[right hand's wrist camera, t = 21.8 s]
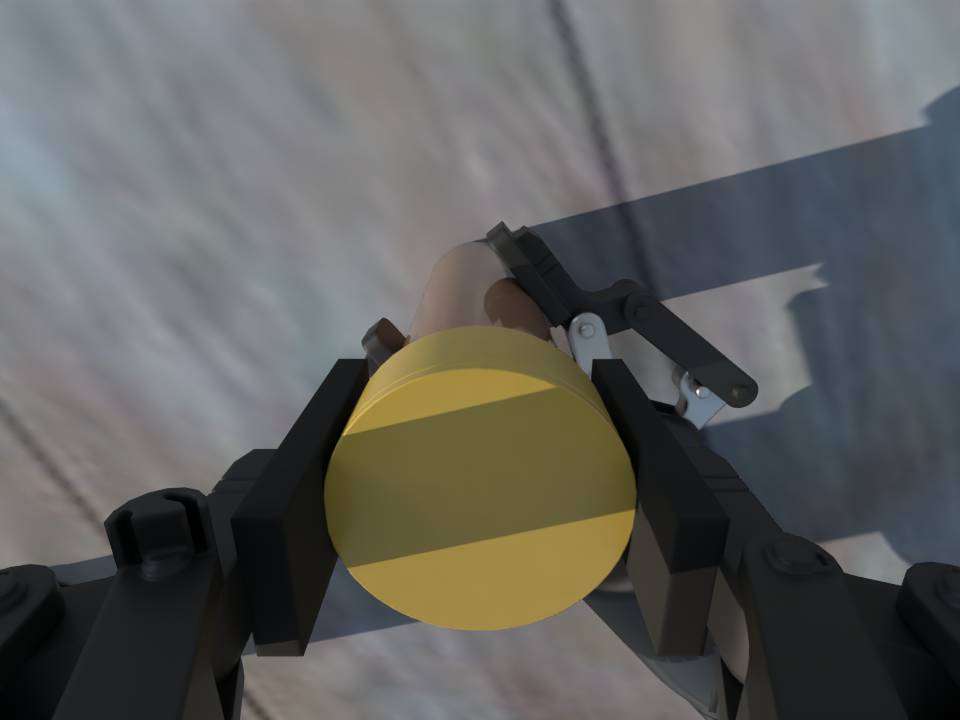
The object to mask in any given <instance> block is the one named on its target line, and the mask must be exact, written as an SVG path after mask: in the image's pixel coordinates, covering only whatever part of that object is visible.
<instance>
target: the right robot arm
mask: <svg viewBox="0 0 960 720" xmlns="http://www.w3.org/2000/svg"><path fill="white" fill-rule="evenodd" d="M369 380H370V379H369V367H368V359H338V361H337V362H336V364H335V365H334V367H333V368H332V369H331V371H330V372H329V374H328V375H327V377H326V378H325V380H324V381H323V383H322V384H321V386H320V387H319V389H318V390H317V392H316V393H315V394H314V396H313V397H312V399H311V400H310V402H309V403H308V405H307V406H306V408H305V409H304V411H303V412H302V414H301V415H300V417H299V418H298V419H297V421H296V422H295V424H294V425H293V427H292V428H291V430H290V431H289V433H288V434H287V436H286V437H285V439H284V440H283V442H282V443H281V445H280V446H279V447H278V449H254V450H252V451H251V452H249V453H247V454H246V455H244V456H243V457H241V458H240V459H238V460H237V461H235V462H234V463H233V464H232V465H231V467H230V468H229V469H228V471H227V472H226V473H225V474H224V476H223V477H222V481H219V482H218V483H217V484H216V486H215V487H214V488H213V490H212V493H211V494H209V495H208V496H207V497H206V496H205V495H204V494H203V493H201V492H200V491H199V490H195V489H190V488H185V487H183V488H166V489H162V490H158V491H154V492H150V493H147V494H144V495H142V496H140V497H137V498H135V499H132V500H130V501H128V502H127V503H125V504H124V505H122V506H121V507H119V508H118V509H116V510H115V511H113V512H112V514H111V515H110V516H109V517H108V518H107V519H106V521H105V522H104V525H105V529H106V532H107V535H108V539H109V542H110V545H111V549H112V552H113V555H114V559H115V562H116V565H117V569H118V571H117V573H116V575H115V576H111V577H108V578H104V579H99V580H95V581H90V582H85V583H81V584H76V585H71V586H67V587H62V588H60V586H59V584H58V581H57V578H56V575H55V572H53V571H52V570H51V569H49V568H48V567H47V566H43V565H34V564H28V565H21V566H15V567H9V568H6V569H2V570H0V720H240V714H241V705H242V696H243V687H244V671H243V664H242V660H241V654H242V652H243V649H244V647H245V645H246V643H247V641H248V639H249V637H250V635H251V633H253V638H254V643H255V648H256V653H257V656H304V653H305V650H306V647H307V644H308V641H309V639H310V636H311V633H312V630H313V627H314V624H315V621H316V619H317V616H318V613H319V610H320V607H321V604H322V601H323V599H324V596H325V593H326V590H327V587H328V584H329V581H330V579H331V576H332V573H333V570H334V567H335V564H336V561H337V558H338V556H339V555H338V554H337V552H336V550H335V548H334V546H333V543H332V541H331V538H330V536H329V533H328V526H327V519H326V511H325V502H324V480H325V476H326V472H327V468H328V464H329V461H330V459H331V456H332V454H333V452H334V449H335V447H336V445H337V443H338V441H339V439H340V437H341V434H342V432H343V430H344V428H345V426H346V424H347V422H348V420H349V418H350V416H351V414H352V412H353V410H354V408H355V406H356V404H357V402H358V400H359V398H360V396H361V393H362V392H363V390H364V388H365V387H366V385H367V383H368V382H369ZM591 381H592V383H593V384H594V386H595V387H596V389H597V391H598V393H599V395H600V397H601V399H602V401H603V403H604V405H605V408H606V410H607V412H608V414H609V416H610V418H611V420H612V422H613V424H614V426H615V428H616V430H617V432H618V434H619V436H620V438H621V440H622V442H623V444H624V447H625V449H626V451H627V453H628V455H629V457H630V460H631V463H632V467H633V470H634V473H635V479H636V486H637V497H636V506H635V514H634V522H633V529H632V534H631V537H630V539H629V542H628V545H627V547H626V549H625V551H624V552H623V554H622V558H623V560H624V563H625V566H626V569H627V572H628V575H629V578H630V580H631V583H632V586H633V589H634V592H635V595H636V598H637V600H638V603H639V606H640V609H641V612H642V615H643V618H644V620H645V623H646V626H647V629H648V632H649V635H650V638H651V640H652V643H653V646H654V649H655V652H656V655H657V656H703V654H704V649H705V644H706V639H707V634H708V629H709V631H710V633H711V635H712V637H713V640H714V642H715V644H716V646H717V648H718V650H719V652H720V655H719V660H718V664H717V669H716V674H715V678H714V683H713V688H712V692H711V697H710V703H709V710H708V712H712V713H716V710H717V705H718V703H719V712H720V720H960V567H957V566H953V565H949V564H942V563H936V562H925V563H916V564H914V565H913V566H912V567H910V568H909V569H908V570H907V571H906V574H905V577H904V579H903V582H902V585H901V586H900V585H895V584H891V583H886V582H881V581H877V580H872V579H867V578H863V577H858V576H854V575H850V574H847V573H844V572H843V570H842V568H841V567H840V565H839V564H838V563H837V561H836V560H835V559H834V557H833V556H832V555H830V554H829V553H828V552H826V551H825V550H824V549H822V548H821V547H820V546H818V545H816V544H814V543H812V542H810V541H808V540H806V539H804V538H802V537H799V536H795V535H792V534H788V533H785V532H783V531H782V529H781V528H780V527H779V526H778V524H777V523H776V522H775V521H774V519H773V518H772V517H771V516H770V514H769V513H768V512H767V511H766V509H765V508H764V507H763V506H762V504H761V503H760V502H759V500H758V499H757V498H756V497H755V495H754V494H753V493H752V492H749V488H748V487H747V485H746V484H745V483H744V482H743V480H742V479H739V475H738V474H737V473H736V472H735V470H734V469H733V468H732V467H731V465H730V464H729V463H728V462H727V460H725V459H724V458H722V457H721V456H719V455H717V454H716V453H714V452H713V451H711V450H710V449H708V448H707V447H681V445H680V444H679V442H678V441H677V440H676V438H675V437H674V435H673V434H672V432H671V431H670V429H669V428H668V426H667V425H666V423H665V422H664V420H663V419H662V417H661V416H660V415H659V413H658V412H657V410H656V409H655V407H654V406H653V404H652V403H651V401H650V400H649V398H648V397H647V395H646V394H645V392H644V391H643V390H642V388H641V387H640V385H639V384H638V382H637V381H636V379H635V378H634V376H633V375H632V373H631V372H630V370H629V369H628V367H627V366H626V365H625V363H624V362H623V360H622V359H592V371H591Z"/></svg>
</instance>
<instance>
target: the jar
mask: <svg viewBox="0 0 960 720" xmlns="http://www.w3.org/2000/svg"><path fill="white" fill-rule="evenodd" d="M477 325H478V326H497V327H503V328H509V329H514V330H518V331H521V332H524V333H527V334H531V335H533V336H535V337H538V338H540V339H542V340H544V341H546V342H548V343H550V344H552V345H553V346H555V347H556V348H558V347H557V344H556V342H555V339H554V337H553V334H552V332H551V329H550V327H549V324H548V321H547V319H546V316H545V314H544V313H543V311H542V310H541V309H540V307H539V306H538V305H537V304H536V302H535V301H534V300H533V299H532V298H531V296H530V295H529V294H528V293H527V291H526V290H525V289H524V287H523V286H522V285H521V284H520V282H519V281H518V280H517V279H516V277H515V276H514V275H513V274H512V272H511V271H510V270H509V268H508V267H507V266H506V265H505V263H504V262H503V261H502V260H501V258H500V257H499V256H498V255H497V253H496V252H495V251H494V249H493V248H492V247H491V245H490V244H489V242H471V243H466V244H463V245H460V246H458V247H456V248H454V249H452V250H451V251H449V252H448V253H447V254H446V255H445V256H443V257H442V258H441V260H440V261H439V262H438V263H437V265H436V266H435V268H434V270H433V272H432V274H431V277H430V279H429V282H428V284H427V287H426V289H425V292H424V294H423V297H422V300H421V302H420V305H419V307H418V310H417V312H416V315H415V317H414V320H413V322H412V325H411V327H410V330H409V332H408V335H407V338H406V340H405V343H404V345H403V348H404V347H405V346H407V345H408V344H410V343H412V342H414V341H416V340H418V339H420V338H422V337H424V336H427V335H430V334H433V333H436V332H439V331H442V330H447V329H452V328H457V327H465V326H477Z"/></svg>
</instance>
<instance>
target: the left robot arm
mask: <svg viewBox="0 0 960 720" xmlns="http://www.w3.org/2000/svg"><path fill="white" fill-rule="evenodd" d="M487 240H488V242H489V244H490V245H491V247H492V248H493V249H494V251H495V252H496V253H497V255H498V256H499V257H500V258H501V260H502V261H503V262H504V263H505V265H506V266H507V267H508V268H509V270H510V271H511V272H512V274H513V275H514V276H515V277H516V279H517V280H518V281H519V282H520V284H521V285H522V286H523V287H524V289H525V290H526V291H527V293H528V294H529V295H530V296H531V298H532V299H533V300H534V301H535V302H536V304H537V305H538V306H539V307H540V309H541V310H542V311H543V313H544V314H545V315H546V317H547V318H548V319H549V320H550V322H551V323H552V324H553V325H554V327H555V328H556V327H558V326H559V325H560V324H561V325H562V327H563V328H564V331H565V335H566V338H567V341H568V345H569V348H570V352H571V357H572V360H574V361H575V362H576V363H577V364H578V365H579V366H580V368H581V369H582V370H583V371H584V372H585V373H586V374H587V375H588V377H589V378H590V380H591V371H592V359H613V355H612V352H611V348H610V344H609V340H608V337H607V336H608V335H611V334H615V333H618V332H621V331H624V330H627V329H630V328H633V329H634V330H635V331H636V332H638V333H639V334H640V335H641V336H643V337H644V338H645V339H646V340H648V341H649V342H650V343H651V344H653V345H654V346H655V347H656V348H658V349H659V350H660V351H661V352H663V353H664V354H665V355H666V356H668V357H669V358H670V359H671V360H673V361H674V362H675V363H677V365H676V366H675V368H674V370H673V372H672V381H673V383H674V385H675V386H676V387H677V388H678V390H679V394H680V397H679V400H678V403H677V404H676V405H675V406H673V405H670V404H666V403H662V402H658V401H654V400H650V399H649V400H650V401H651V403H652V404H653V406H654V407H655V409H656V410H657V412H658V413H659V415H660V416H661V417H662V419H663V420H664V422H665V423H666V425H667V426H668V428H669V429H670V431H671V432H672V434H673V435H674V437H675V438H676V440H677V441H678V442H679V444H680V445H681V447H702V438H701V434H700V432H699V430H700V429H701V428H702V427H703V426H704V425H705V424H706V423H707V422H708V421H709V420H711V419H712V418H713V417H714V416H715V415H716V414H717V413H718V412H719V411H720V410H721V409H722V408H723V407H724V406H725V405H726V404H728V405H729V406H731V407H734V408H742V407H745V406H747V405H749V404H751V403H752V402H753V401H754V400H755V398H756V397H757V394H758V385H757V383H756V382H755V381H754V380H753V379H752V378H751V377H750V376H748V375H747V374H746V373H745V372H744V371H742V370H741V369H740V368H739V367H738V366H736V365H735V364H734V363H733V362H732V361H730V360H729V359H728V358H727V357H726V356H725V355H723V354H722V353H721V352H720V351H718V350H717V349H716V348H715V347H714V346H712V345H711V344H710V343H709V342H708V341H706V340H705V339H704V338H703V337H701V336H700V335H699V334H698V333H697V332H695V331H694V330H693V329H692V328H691V327H689V326H688V325H687V324H686V323H684V322H683V321H682V320H681V319H680V318H678V317H677V316H676V315H675V314H674V313H672V312H671V311H670V310H669V309H667V308H666V307H665V306H664V305H663V304H661V303H660V302H659V301H658V300H657V299H655V298H654V297H653V296H652V295H650V294H649V293H648V292H647V291H646V290H644V289H643V288H642V287H641V286H640V285H638V284H637V283H636V282H634V281H633V280H630V279H622V280H619V281H617V282H616V283H614V284H613V285H612V287H610V288H607V289H604V290H601V291H598V292H587V291H584V290H582V289H580V288H579V287H578V286H577V285H576V284H575V283H574V281H573V280H572V279H571V277H570V276H569V275H568V274H567V272H566V271H565V270H564V268H563V267H562V266H561V264H560V263H559V262H558V260H557V259H556V258H555V256H554V255H553V254H552V252H551V251H550V250H549V248H548V247H547V246H546V244H545V243H544V242H543V240H542V239H541V238H540V236H539V235H538V234H537V233H536V232H534V231H532V230H531V229H529V228H527V227H526V226H523V227H521V228H520V229H519V230H518V231H516V232H515V233H514V234H512V233H511V231H510V230H509V229H508V227H507V226H506V225H505V224H504V223H503V222H500V223H499V224H498V225H497V226H495V227H494V228H493V229H492V230H491V231H489V232H488V233H487ZM405 340H406V338H405V337H404V336H403V335H402V334H401V333H400V331H399V330H398V329H397V328H396V327H395V326H394V325H393V324H392V323H391V322H390V321H389V320H388V319H386V318H382V319H381V320H380V321H378V322H377V323H376V324H375V325H373V326H372V327H371V328H370V329H369V330H368V331H367V333H366V335H365V336H364V338H363V339H362V346H363V348H364V350H365V351H366V353H367V355H366V357H365V359H368V367H369V377H370V378H371V377H372V376H373V375H374V374H375V373H376V371H377V370H378V369H379V368H380V367H381V365H383V364H384V363H385V362H386V361H387V360H388V359H389V358H390V357H391V356H393V355H394V354H395V353H397V352H398V351H399V350H401V349H402V348H403V345H404V343H405ZM60 588H62V586H60ZM583 600H584V601H585V602H586V603H587V604H588V605H589V606H590V608H591V609H592V610H593V611H594V612H595V613H596V614H597V615H598V616H599V617H600V618H601V619H602V620H603V621H604V622H605V623H606V624H607V625H608V626H609V627H610V629H611V630H612V631H613V632H614V633H615V634H616V635H617V636H618V637H619V638H620V639H621V640H622V641H623V642H624V643H625V644H626V645H627V646H628V647H629V648H630V649H631V650H632V651H633V652H634V654H635V655H636V656H637V657H638V658H639V659H640V660H641V661H642V662H643V663H644V664H645V665H646V666H647V667H648V668H649V669H650V670H651V671H652V672H653V673H654V675H656V676H657V677H658V678H659V679H660V680H661V681H662V682H663V683H664V684H666V685H667V686H668V687H669V688H671V689H672V690H673V691H674V692H676V693H677V694H679V695H680V696H682V697H683V698H684V699H686V700H687V701H688V702H689V703H690V704H691V705H692V706H693V707H694V708H695V709H696V710H697V711H698V713H699V714H700V715H701V716H702V717H703V718H704V719H705V720H720V712H719V703H718V705H717V710H716V713H712V712H708V710H709V703H710V697H711V692H712V688H713V683H714V678H715V674H716V669H717V664H718V660H719V655H720V652H719V650H718V648H717V646H716V644H715V642H714V640H713V637H712V635H711V633H710V631H709V629H708V634H707V639H706V644H705V649H704V654H703V656H657V655H656V652H655V649H654V646H653V643H652V640H651V638H650V635H649V632H648V629H647V626H646V623H645V620H644V618H643V615H642V612H641V609H640V606H639V603H638V600H637V598H636V595H635V592H634V589H633V586H632V583H631V580H630V578H629V575H628V572H627V569H626V566H625V563H624V560H623V558H622V556H621V558H620V560H619V561H618V563H617V564H616V566H615V567H614V568H613V570H612V571H611V573H610V574H609V575H608V576H607V577H606V578H605V579H604V580H603V581H602V582H601V584H600V585H599V586H598V587H596V588H595V589H594V590H593V591H592V592H590V593H589V594H588V595H587V596H586V597H584V598H583Z"/></svg>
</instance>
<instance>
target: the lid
mask: <svg viewBox="0 0 960 720" xmlns="http://www.w3.org/2000/svg"><path fill="white" fill-rule="evenodd" d="M636 497H637V486H636V479H635V473H634V470H633V467H632V463H631V460H630V457H629V455H628V453H627V451H626V449H625V447H624V444H623V442H622V440H621V438H620V436H619V434H618V432H617V430H616V428H615V426H614V424H613V422H612V420H611V418H610V416H609V414H608V412H607V410H606V408H605V405H604V403H603V401H602V399H601V397H600V395H599V393H598V391H597V389H596V387H595V386H594V384H593V383H592V381H591V380H590V378H589V377H588V375H587V374H586V373H585V372H584V371H583V370H582V369H581V368H580V366H579V365H578V364H577V363H576V362H575V361H574V360H572V359H571V358H570V357H569V356H568V355H566V354H565V353H564V352H563V351H561V350H560V349H558V348H556V347H555V346H553V345H552V344H550V343H548V342H546V341H544V340H542V339H540V338H538V337H535V336H533V335H531V334H527V333H524V332H521V331H518V330H514V329H509V328H503V327H497V326H478V325H477V326H465V327H457V328H452V329H447V330H442V331H439V332H436V333H433V334H430V335H427V336H424V337H422V338H420V339H418V340H416V341H414V342H412V343H410V344H408V345H407V346H405V347H404V348H402V349H401V350H399V351H398V352H397V353H395V354H394V355H393V356H391V357H390V358H389V359H388V360H387V361H386V362H385V363H384V364H383V365H381V367H380V368H379V369H378V370H377V371H376V373H375V374H374V375H373V376H372V377H371V379H370V380H369V382H368V383H367V385H366V387H365V388H364V390H363V392H362V393H361V396H360V398H359V400H358V402H357V404H356V406H355V408H354V410H353V412H352V414H351V416H350V418H349V420H348V422H347V424H346V426H345V428H344V430H343V432H342V434H341V437H340V439H339V441H338V443H337V445H336V447H335V449H334V452H333V454H332V456H331V459H330V461H329V464H328V468H327V472H326V476H325V480H324V502H325V511H326V519H327V526H328V533H329V536H330V538H331V541H332V543H333V546H334V548H335V550H336V552H337V554H338V555H339V557H340V559H341V561H342V562H343V564H344V565H345V566H346V568H347V569H348V570H349V572H350V573H351V574H352V576H353V577H354V578H355V579H356V580H357V581H358V582H359V583H360V584H361V585H362V586H363V587H364V588H365V589H366V590H367V591H369V592H370V593H371V594H372V595H374V596H375V597H376V598H377V599H379V600H380V601H382V602H383V603H385V604H387V605H388V606H390V607H391V608H393V609H395V610H397V611H399V612H401V613H403V614H405V615H407V616H409V617H412V618H415V619H418V620H420V621H423V622H426V623H429V624H433V625H438V626H442V627H446V628H453V629H461V630H479V631H485V630H501V629H507V628H513V627H519V626H523V625H527V624H531V623H534V622H538V621H540V620H543V619H546V618H548V617H551V616H553V615H555V614H557V613H559V612H561V611H563V610H565V609H567V608H569V607H571V606H572V605H574V604H575V603H577V602H578V601H580V600H581V599H583V598H584V597H586V596H587V595H588V594H589V593H590V592H592V591H593V590H594V589H595V588H596V587H598V586H599V585H600V584H601V582H602V581H603V580H604V579H605V578H606V577H607V576H608V575H609V574H610V573H611V571H612V570H613V568H614V567H615V566H616V564H617V563H618V561H619V560H620V558H621V556H622V554H623V552H624V551H625V549H626V547H627V545H628V542H629V539H630V537H631V534H632V529H633V522H634V514H635V506H636Z"/></svg>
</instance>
